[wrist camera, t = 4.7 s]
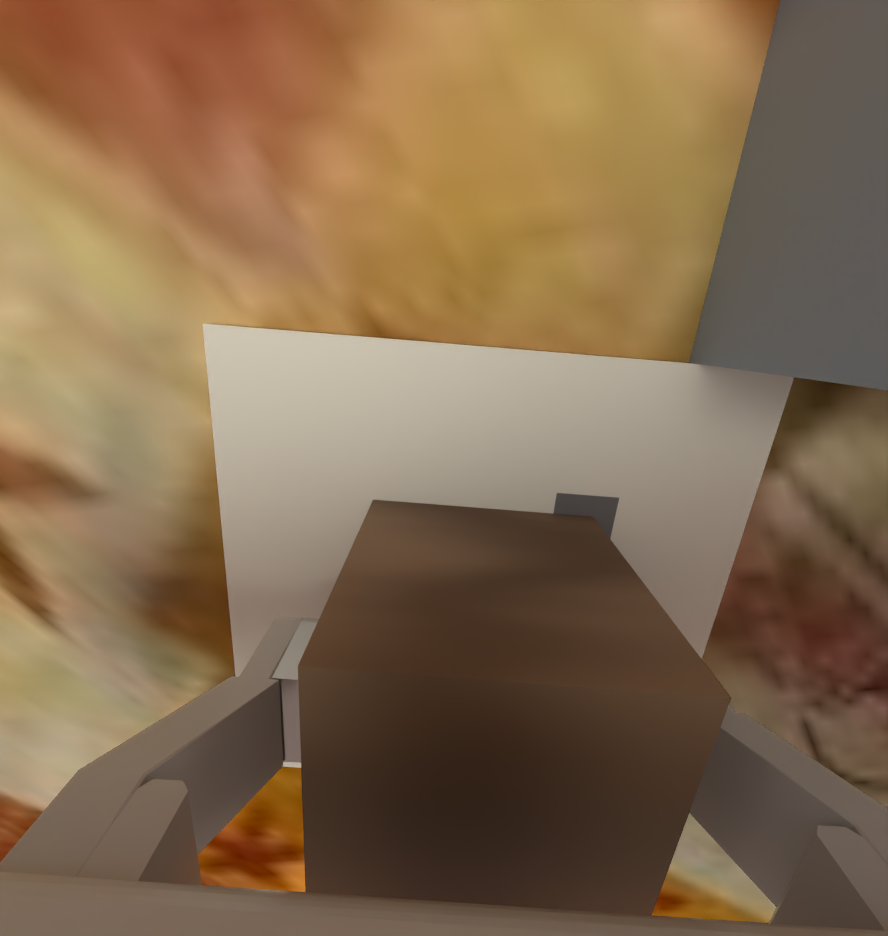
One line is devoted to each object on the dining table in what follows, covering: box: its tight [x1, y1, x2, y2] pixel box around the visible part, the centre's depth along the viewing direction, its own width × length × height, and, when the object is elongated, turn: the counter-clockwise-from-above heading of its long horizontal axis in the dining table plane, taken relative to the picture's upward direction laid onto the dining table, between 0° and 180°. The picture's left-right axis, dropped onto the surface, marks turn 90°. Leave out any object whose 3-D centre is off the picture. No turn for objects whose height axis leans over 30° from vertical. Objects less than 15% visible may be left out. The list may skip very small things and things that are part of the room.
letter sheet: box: [203, 324, 794, 768], centre depth 11 cm, size 12×12×1 cm
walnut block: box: [298, 500, 731, 915], centre depth 8 cm, size 5×5×5 cm
